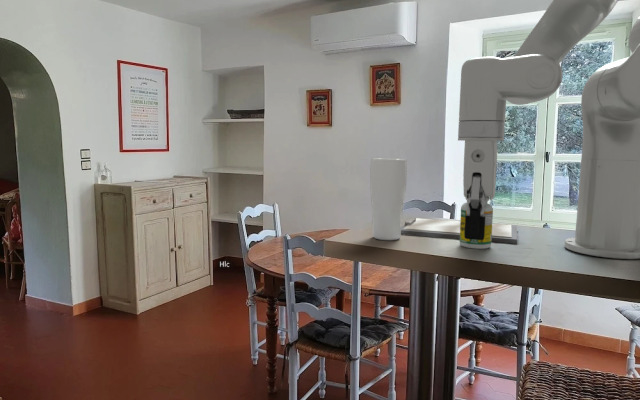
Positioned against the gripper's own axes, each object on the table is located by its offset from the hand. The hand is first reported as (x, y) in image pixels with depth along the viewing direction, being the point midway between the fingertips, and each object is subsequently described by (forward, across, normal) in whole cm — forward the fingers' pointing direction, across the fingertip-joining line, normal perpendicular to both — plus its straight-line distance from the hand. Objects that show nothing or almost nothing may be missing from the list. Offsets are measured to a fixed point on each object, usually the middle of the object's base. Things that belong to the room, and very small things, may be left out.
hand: (475, 234), depth 85 cm
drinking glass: (+2, 0, +16) cm, 16 cm away
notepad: (+2, +13, +4) cm, 14 cm away
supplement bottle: (+2, 0, 0) cm, 2 cm away
